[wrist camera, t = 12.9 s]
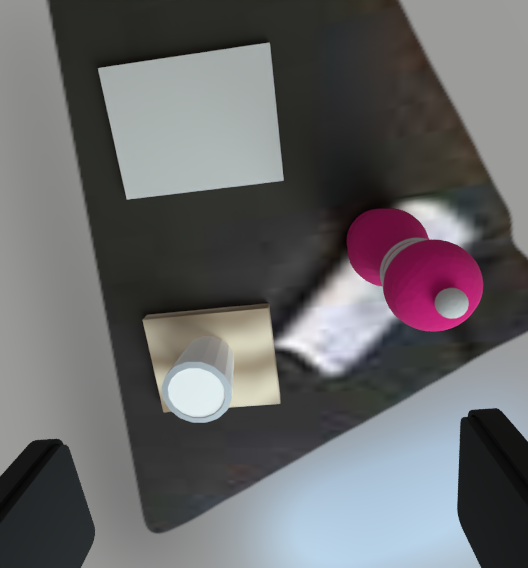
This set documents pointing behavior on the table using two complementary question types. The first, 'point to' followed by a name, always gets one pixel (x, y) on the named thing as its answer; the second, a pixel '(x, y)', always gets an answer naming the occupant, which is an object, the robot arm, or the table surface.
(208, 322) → the birch board
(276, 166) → the grey tile
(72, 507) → the robot arm
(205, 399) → the shot glass
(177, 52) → the table surface
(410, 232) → the pepper mill
